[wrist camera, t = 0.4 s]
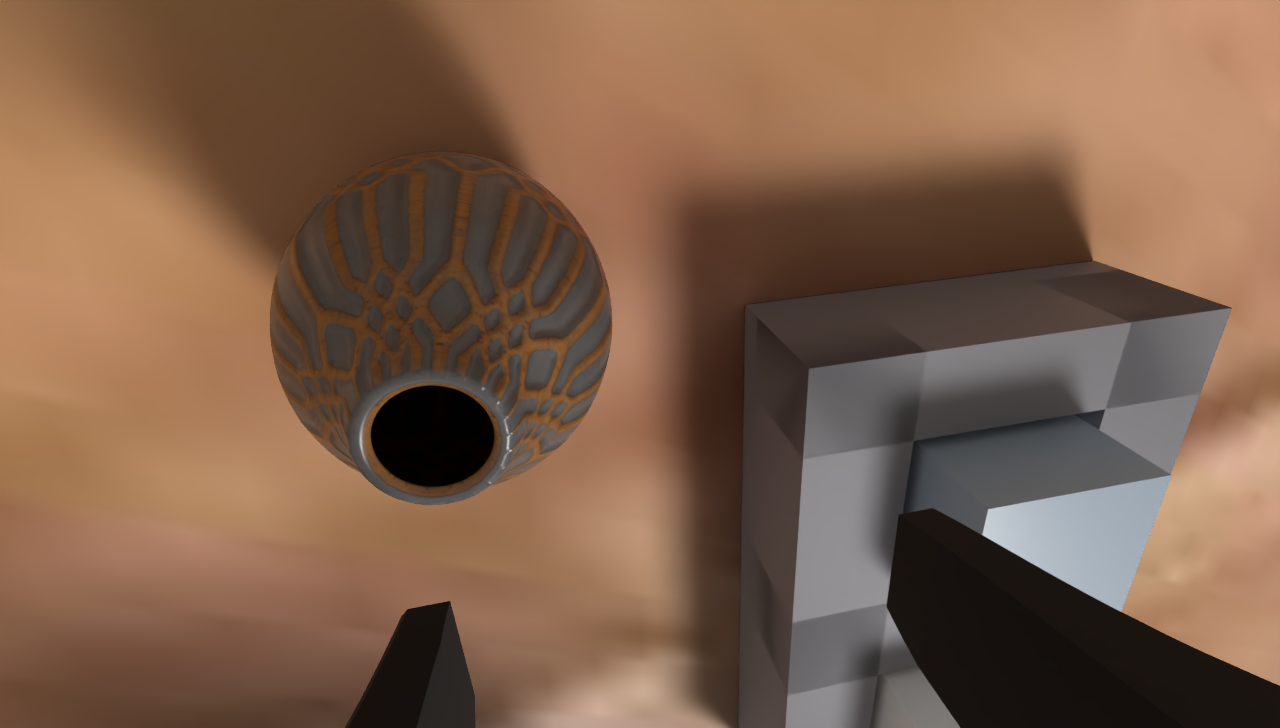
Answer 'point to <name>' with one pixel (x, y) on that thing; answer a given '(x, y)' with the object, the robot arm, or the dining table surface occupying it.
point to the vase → (440, 324)
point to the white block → (908, 702)
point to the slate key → (1046, 497)
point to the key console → (915, 410)
